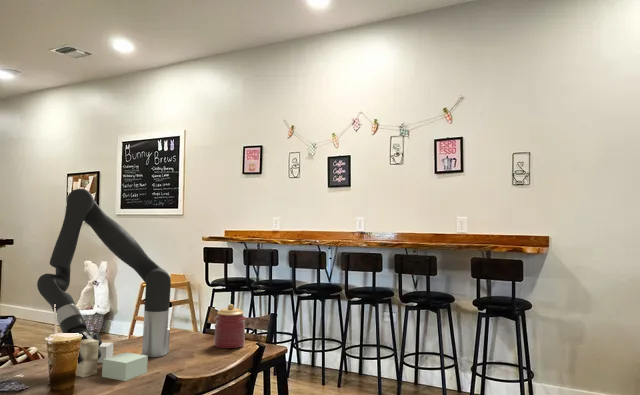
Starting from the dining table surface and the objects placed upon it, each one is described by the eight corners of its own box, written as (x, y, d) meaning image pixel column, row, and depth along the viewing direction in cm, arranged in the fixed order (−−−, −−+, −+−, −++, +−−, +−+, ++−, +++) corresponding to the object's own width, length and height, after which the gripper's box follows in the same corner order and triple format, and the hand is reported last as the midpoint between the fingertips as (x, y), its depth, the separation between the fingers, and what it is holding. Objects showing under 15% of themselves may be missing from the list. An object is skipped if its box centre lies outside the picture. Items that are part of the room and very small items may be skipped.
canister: (207, 346, 203) (209, 304, 205) (228, 340, 214) (229, 300, 216) (230, 351, 197) (232, 307, 198) (250, 345, 208) (252, 303, 209)
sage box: (124, 369, 169) (125, 352, 169) (146, 373, 165) (147, 355, 166) (101, 377, 160) (102, 359, 160) (125, 381, 156) (126, 362, 156)
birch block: (87, 370, 165) (89, 338, 166) (96, 373, 163) (98, 340, 164) (74, 374, 161) (76, 341, 162) (83, 377, 159) (85, 343, 159)
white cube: (89, 362, 175) (90, 346, 176) (96, 358, 181) (97, 342, 182) (105, 363, 175) (106, 346, 176) (112, 358, 181) (113, 342, 182)
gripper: (55, 316, 161) (74, 358, 154) (94, 310, 173) (113, 349, 166) (45, 330, 163) (63, 372, 156) (84, 323, 175) (103, 362, 169)
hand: (89, 360), depth 161 cm, fingers open, 6 cm apart
